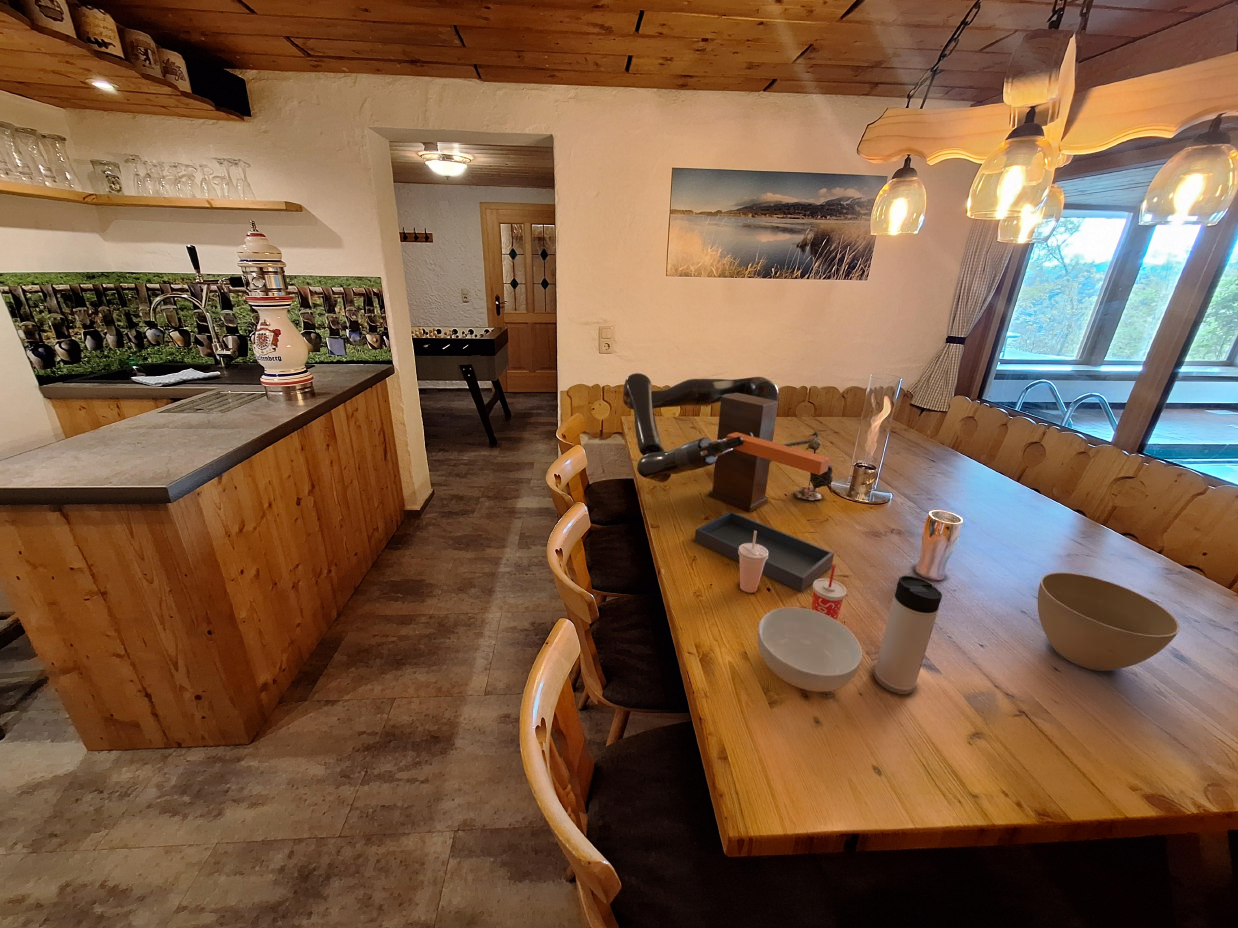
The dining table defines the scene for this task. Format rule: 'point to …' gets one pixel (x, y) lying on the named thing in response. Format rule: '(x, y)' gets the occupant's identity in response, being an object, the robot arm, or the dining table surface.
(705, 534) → the tray
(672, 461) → the robot arm
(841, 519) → the dining table surface
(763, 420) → the stand
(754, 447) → the orange bar
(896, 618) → the travel mug
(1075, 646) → the brown slanted bowl
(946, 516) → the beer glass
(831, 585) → the beverage cup
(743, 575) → the smoothie
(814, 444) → the plant with pod
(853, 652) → the cereal bowl
